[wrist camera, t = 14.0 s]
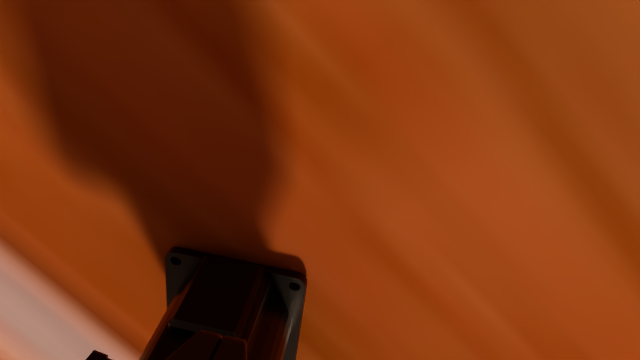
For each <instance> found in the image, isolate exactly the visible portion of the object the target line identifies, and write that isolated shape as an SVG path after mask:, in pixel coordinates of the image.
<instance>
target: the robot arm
mask: <svg viewBox="0 0 640 360" xmlns="http://www.w3.org/2000/svg"><path fill="white" fill-rule="evenodd" d="M176 257H178V258H179V259H180V260H179V259H177V258H176ZM165 263H166V286H167V311H166V312H165V314H164V316H163V318H162V319H161V321H160V323H159V325H158V327H157V328H156V330H155V332H154V334H153V335H152V337H151V339H150V341H149V342H148V344H147V346H146V348H145V350H144V351H143V353H142V355H141V357H140V358H139V360H296V354H297V347H298V341H299V334H300V327H301V321H302V314H303V307H304V301H305V294H306V287H307V279H306V277H305V276H304V275H303V274H301V273H298V272H294V271H290V270H285V269H280V268H276V267H271V266H266V265H261V264H257V263H252V262H247V261H242V260H238V259H233V258H228V257H223V256H219V255H214V254H209V253H205V252H200V251H195V250H190V249H186V248H181V247H173V248H171V249H170V250H169V252H168V253H167V255H166V258H165ZM292 282H296V283H298V284H299V285H296V284H293V283H292ZM86 360H112V359H109V358H108V355H106V354H103V353H101V352H98V351H96V350H94V351H93V352H92V353H91V354H90V355H89V357H88V358H87V359H86Z"/></svg>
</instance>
